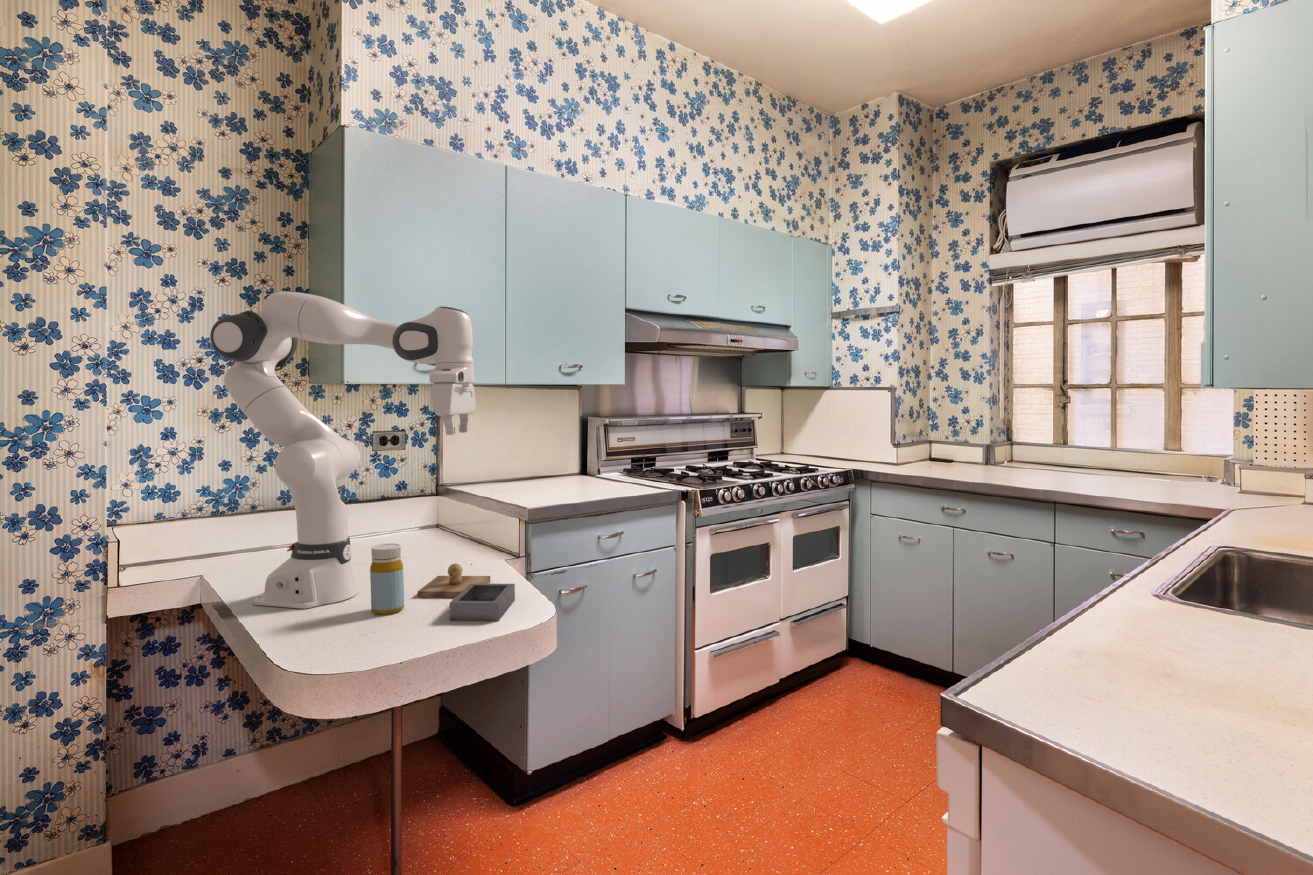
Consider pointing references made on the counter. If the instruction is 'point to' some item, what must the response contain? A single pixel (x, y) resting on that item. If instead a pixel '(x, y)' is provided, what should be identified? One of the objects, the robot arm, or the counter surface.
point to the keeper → (451, 583)
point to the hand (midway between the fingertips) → (457, 433)
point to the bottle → (386, 579)
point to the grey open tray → (482, 602)
